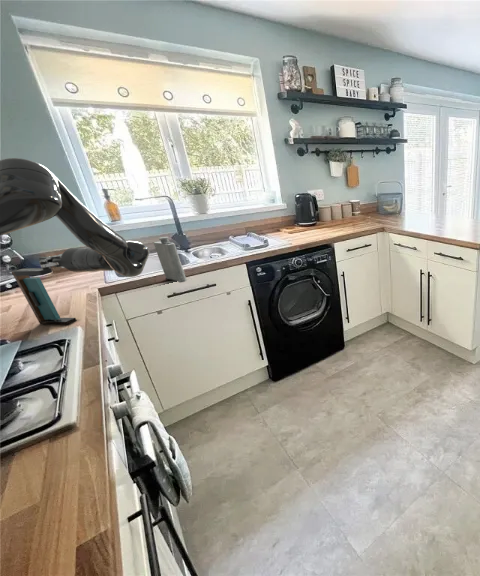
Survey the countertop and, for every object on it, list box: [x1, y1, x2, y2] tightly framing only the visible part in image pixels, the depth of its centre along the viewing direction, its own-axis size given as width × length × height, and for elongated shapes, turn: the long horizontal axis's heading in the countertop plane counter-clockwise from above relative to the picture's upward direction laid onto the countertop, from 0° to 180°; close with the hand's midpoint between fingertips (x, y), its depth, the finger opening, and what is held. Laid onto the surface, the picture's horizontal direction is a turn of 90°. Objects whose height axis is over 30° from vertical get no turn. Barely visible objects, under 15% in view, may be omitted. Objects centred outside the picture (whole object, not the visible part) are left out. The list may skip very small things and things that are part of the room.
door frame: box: [10, 267, 77, 326], centre depth 104 cm, size 3×12×20 cm, turn 80°
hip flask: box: [153, 236, 188, 283], centre depth 142 cm, size 16×4×20 cm, turn 57°
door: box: [23, 277, 61, 320], centre depth 105 cm, size 3×6×15 cm, turn 80°
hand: (42, 260), depth 98 cm, fingers closed
